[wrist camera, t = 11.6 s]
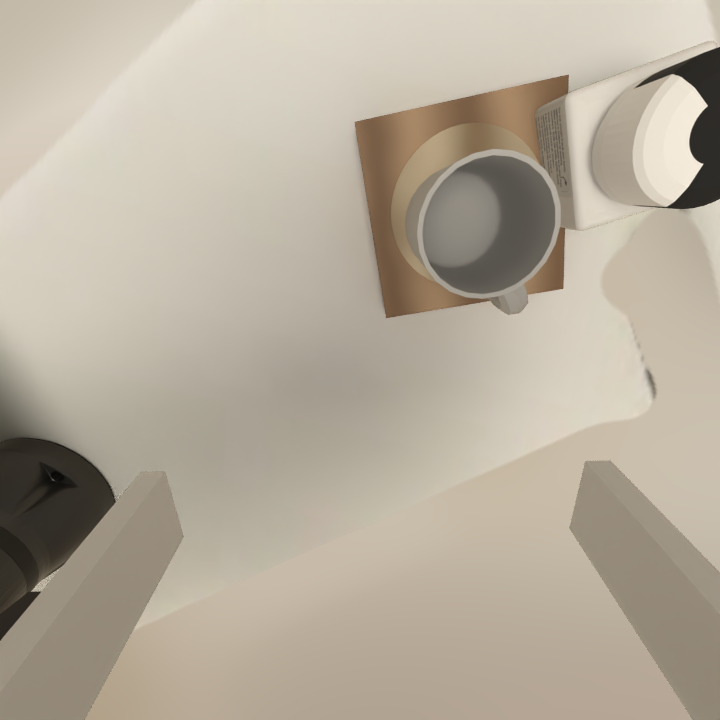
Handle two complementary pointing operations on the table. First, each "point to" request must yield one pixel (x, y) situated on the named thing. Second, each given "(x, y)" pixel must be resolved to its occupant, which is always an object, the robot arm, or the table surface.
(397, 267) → the pedestal
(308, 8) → the table surface
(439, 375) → the table surface
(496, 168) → the cup
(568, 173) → the container
